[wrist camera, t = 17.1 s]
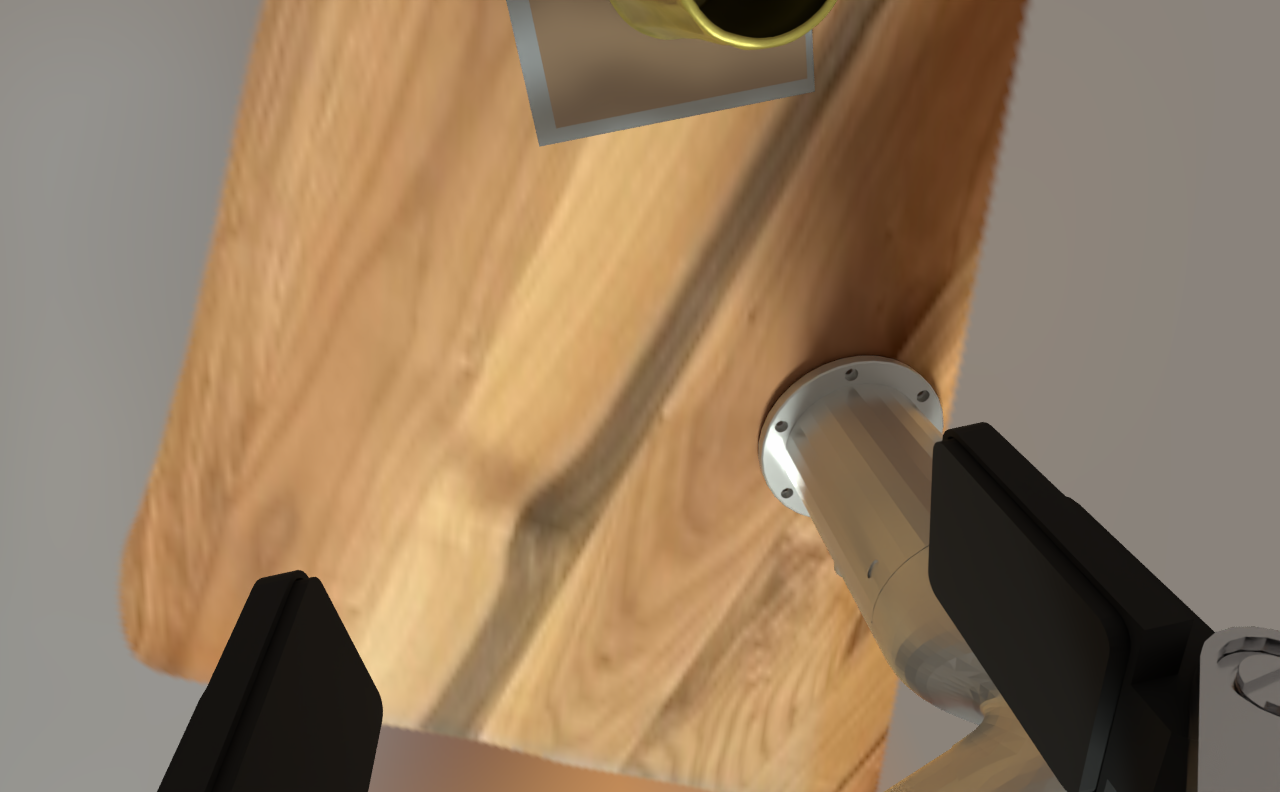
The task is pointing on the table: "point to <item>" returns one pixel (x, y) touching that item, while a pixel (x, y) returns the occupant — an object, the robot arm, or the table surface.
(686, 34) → the vase
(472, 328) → the table surface
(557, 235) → the table surface
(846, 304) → the table surface
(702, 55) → the stand
